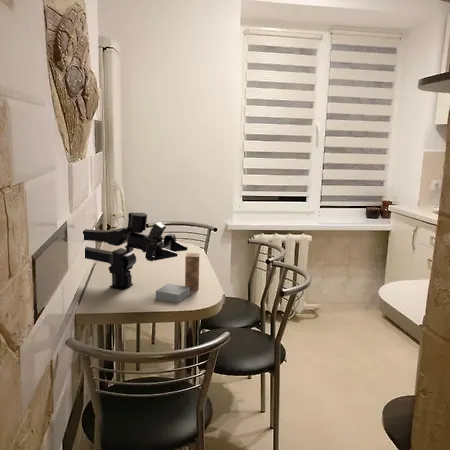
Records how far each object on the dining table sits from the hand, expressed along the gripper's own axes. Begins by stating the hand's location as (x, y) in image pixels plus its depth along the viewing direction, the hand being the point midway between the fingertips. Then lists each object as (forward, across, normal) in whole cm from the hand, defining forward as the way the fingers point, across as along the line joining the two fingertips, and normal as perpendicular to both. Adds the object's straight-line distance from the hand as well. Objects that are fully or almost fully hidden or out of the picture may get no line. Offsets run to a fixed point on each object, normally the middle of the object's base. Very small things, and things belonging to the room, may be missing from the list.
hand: (182, 251), depth 161 cm
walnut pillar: (+3, +8, +16) cm, 18 cm away
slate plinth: (0, -3, +16) cm, 17 cm away
